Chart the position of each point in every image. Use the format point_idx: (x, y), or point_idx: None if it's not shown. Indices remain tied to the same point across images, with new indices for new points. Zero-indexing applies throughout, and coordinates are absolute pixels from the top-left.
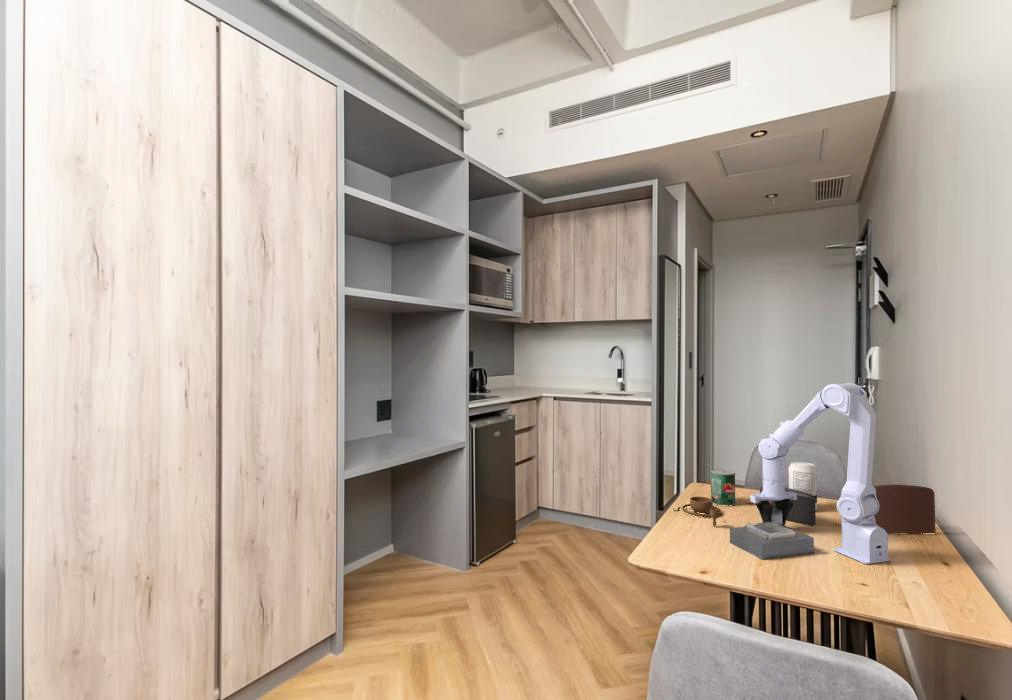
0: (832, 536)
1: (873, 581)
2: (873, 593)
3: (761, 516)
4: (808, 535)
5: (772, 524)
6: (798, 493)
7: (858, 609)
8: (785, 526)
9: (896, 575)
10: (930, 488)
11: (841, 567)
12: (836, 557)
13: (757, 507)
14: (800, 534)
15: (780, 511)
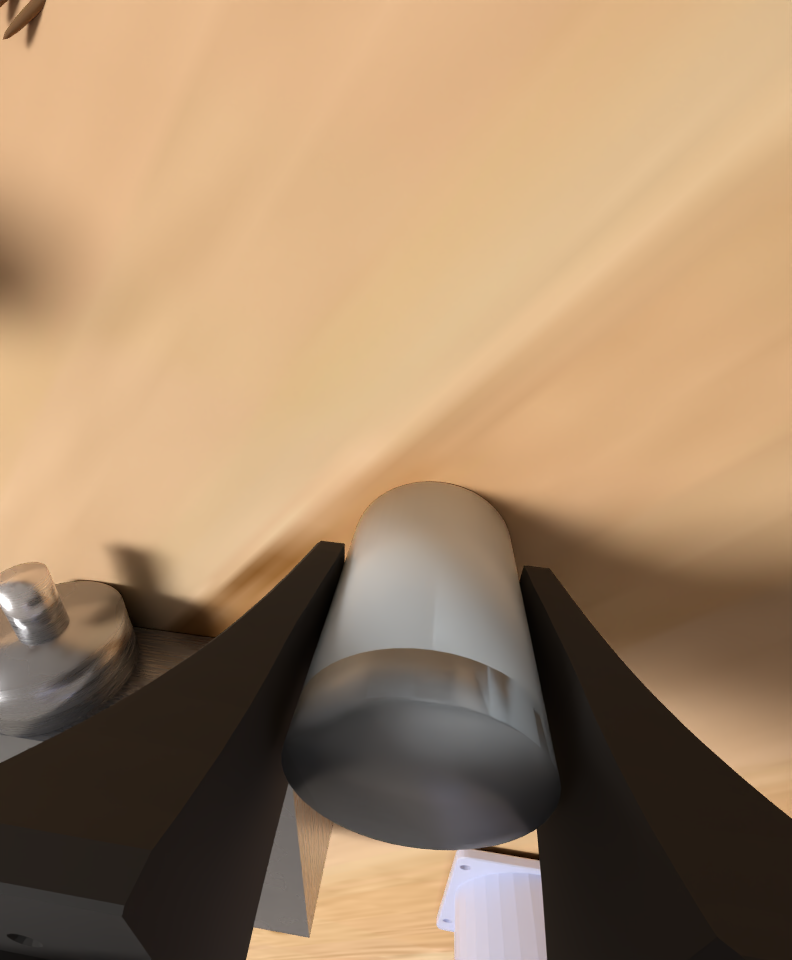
0: (744, 773)
1: (325, 936)
2: (254, 943)
3: (259, 608)
4: (306, 923)
5: None
6: None
7: None
8: (287, 831)
9: (445, 953)
10: None
11: (319, 888)
12: (394, 863)
13: (118, 709)
14: (268, 905)
15: (453, 840)
